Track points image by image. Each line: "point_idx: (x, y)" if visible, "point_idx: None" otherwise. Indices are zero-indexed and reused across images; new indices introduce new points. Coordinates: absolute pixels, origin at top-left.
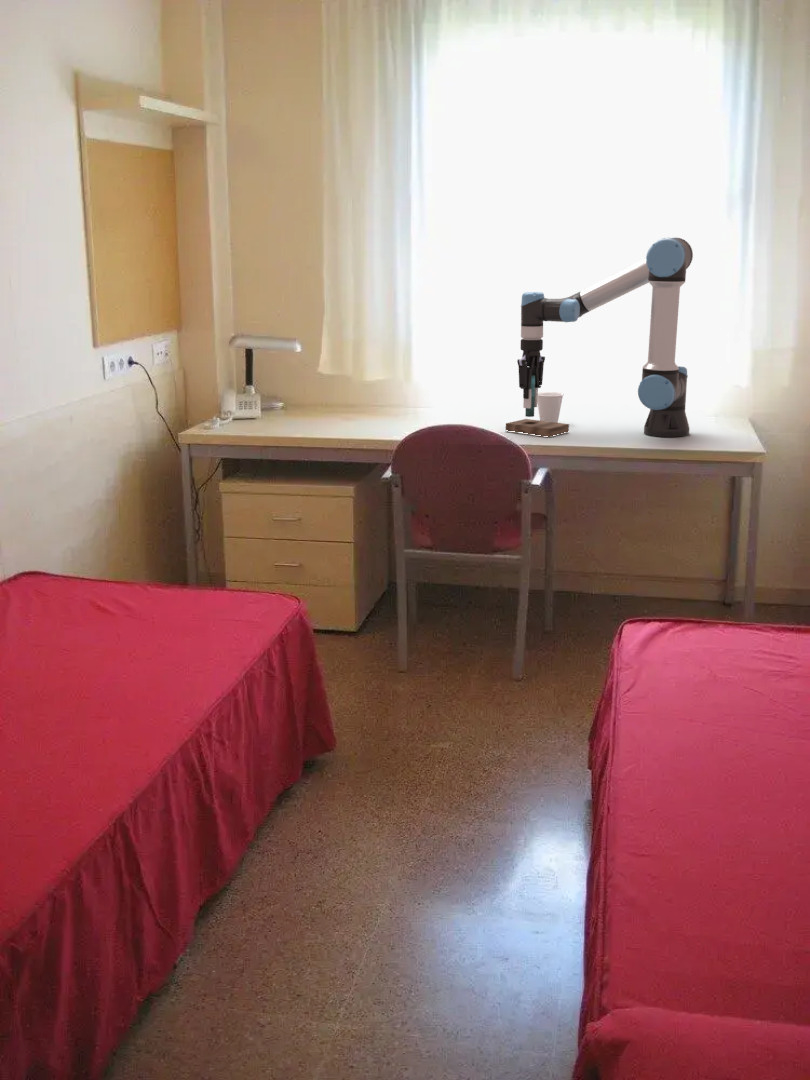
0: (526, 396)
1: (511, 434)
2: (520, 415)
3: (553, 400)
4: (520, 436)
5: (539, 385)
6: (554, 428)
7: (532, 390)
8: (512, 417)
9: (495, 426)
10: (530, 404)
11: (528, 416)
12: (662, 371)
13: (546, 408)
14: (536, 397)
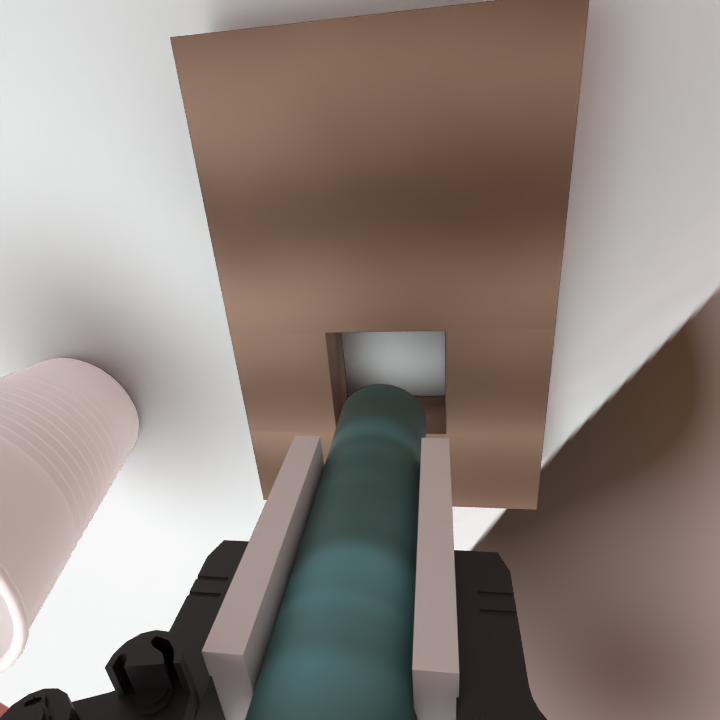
0: (511, 587)
1: (595, 383)
2: (42, 643)
3: None
4: (645, 276)
5: (81, 703)
6: (465, 6)
7: (368, 642)
8: (111, 646)
9: None
10: (436, 469)
11: (423, 412)
12: None
13: (61, 466)
14: (281, 521)
